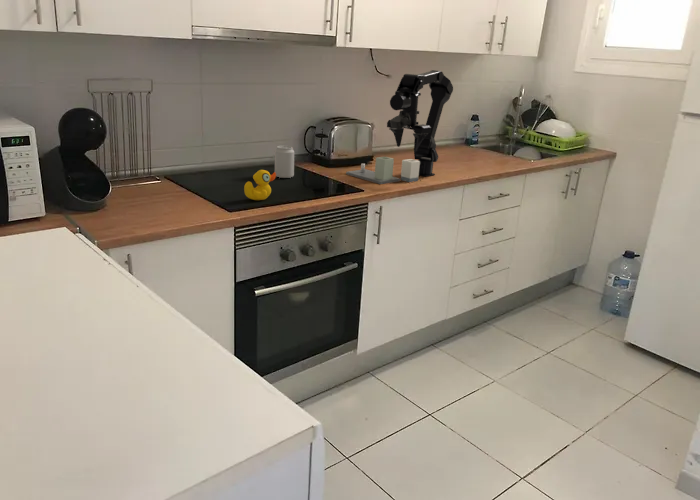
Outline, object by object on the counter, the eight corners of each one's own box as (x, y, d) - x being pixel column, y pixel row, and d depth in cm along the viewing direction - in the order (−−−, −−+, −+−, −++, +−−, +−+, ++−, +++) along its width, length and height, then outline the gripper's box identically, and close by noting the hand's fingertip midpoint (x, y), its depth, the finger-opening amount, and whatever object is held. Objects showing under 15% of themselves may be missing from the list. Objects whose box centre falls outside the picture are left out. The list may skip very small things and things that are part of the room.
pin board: (365, 171, 246) (366, 150, 243) (399, 181, 233) (401, 158, 229) (346, 174, 239) (347, 152, 236) (380, 184, 225) (382, 161, 222)
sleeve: (408, 178, 238) (410, 158, 235) (418, 180, 235) (420, 161, 232) (400, 179, 235) (402, 160, 232) (409, 182, 231) (411, 162, 229)
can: (290, 180, 224) (291, 149, 220) (271, 178, 225) (272, 147, 221) (296, 176, 231) (296, 145, 227) (278, 174, 232) (278, 144, 228)
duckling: (271, 196, 200) (272, 167, 197) (279, 199, 196) (279, 170, 193) (241, 199, 194) (241, 169, 190) (248, 203, 190) (248, 173, 186)
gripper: (378, 106, 225) (375, 146, 231) (413, 112, 212) (410, 155, 218) (398, 104, 232) (395, 143, 238) (433, 110, 219) (429, 151, 225)
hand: (406, 148), depth 229 cm, fingers open, 9 cm apart
